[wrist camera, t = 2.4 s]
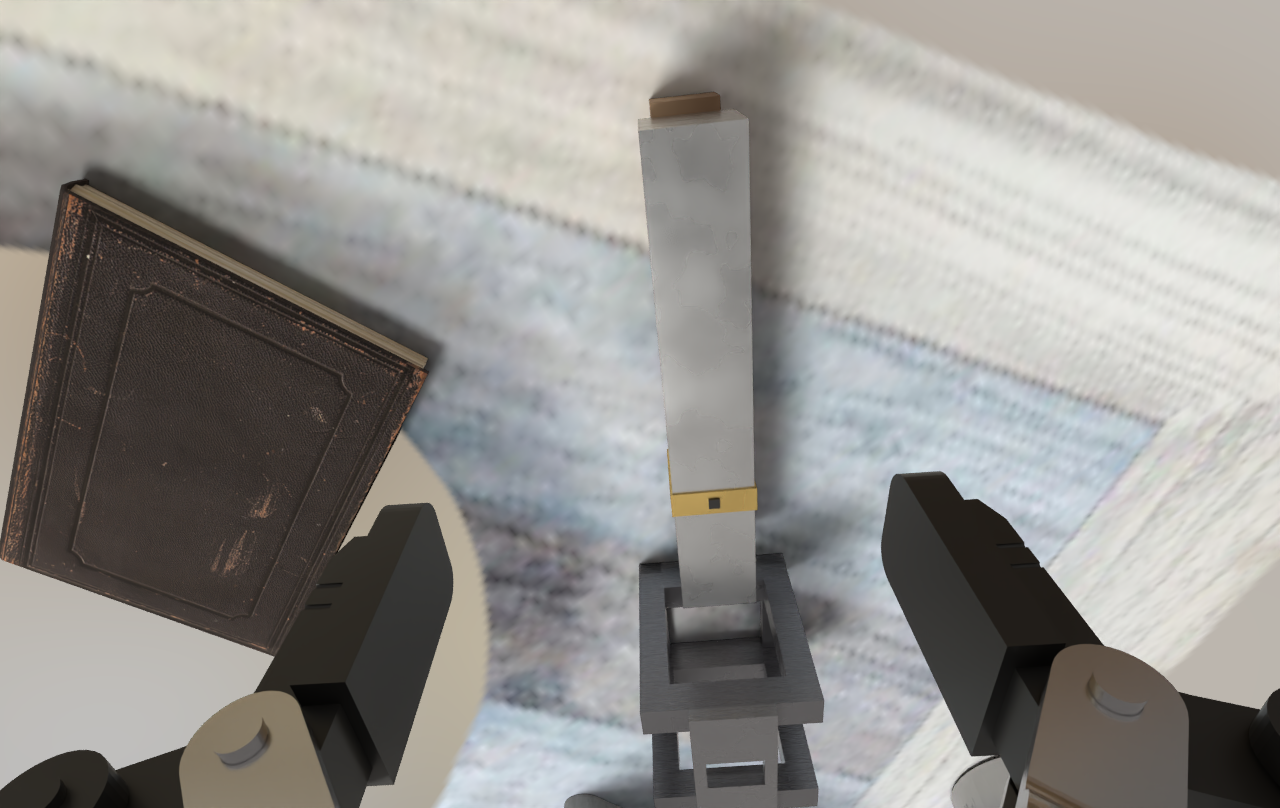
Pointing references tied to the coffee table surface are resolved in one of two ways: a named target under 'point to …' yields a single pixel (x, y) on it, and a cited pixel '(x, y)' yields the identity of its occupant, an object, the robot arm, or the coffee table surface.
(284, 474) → the hardcover book
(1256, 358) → the coffee table surface
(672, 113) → the walnut rail
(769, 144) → the coffee table surface
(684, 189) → the square steel tube
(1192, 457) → the coffee table surface
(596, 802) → the hip flask
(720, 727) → the frame
